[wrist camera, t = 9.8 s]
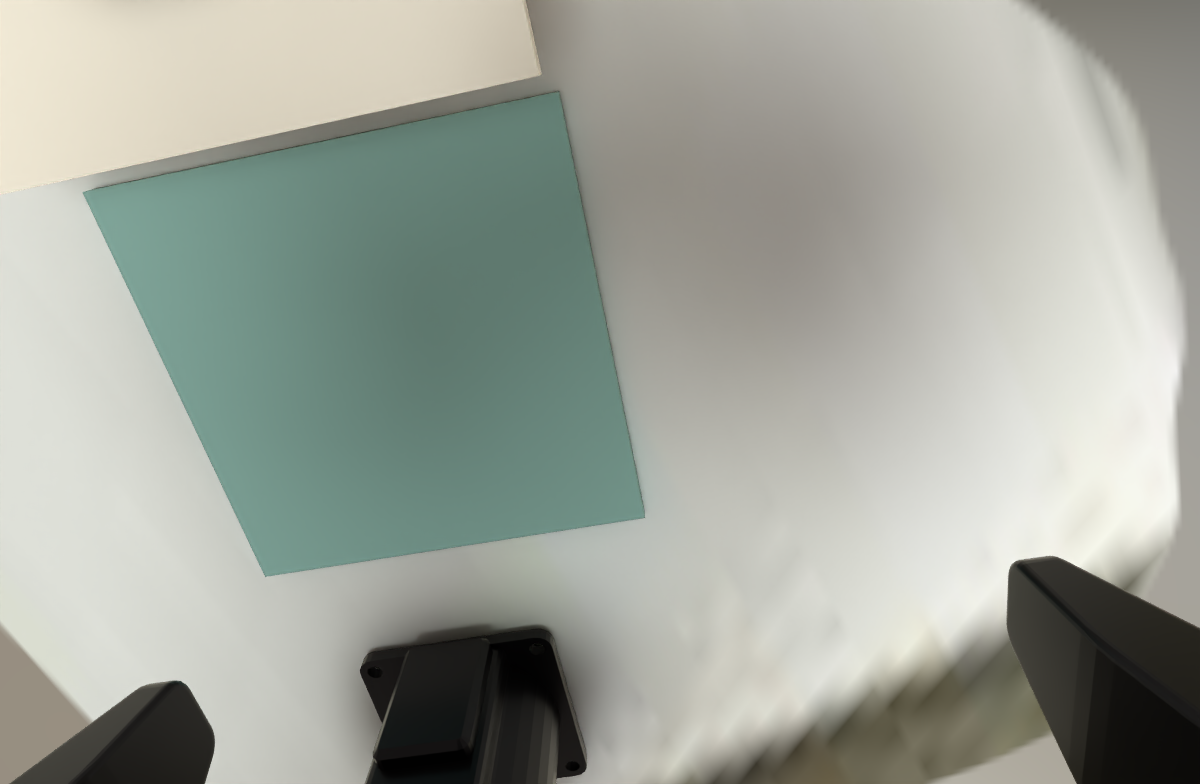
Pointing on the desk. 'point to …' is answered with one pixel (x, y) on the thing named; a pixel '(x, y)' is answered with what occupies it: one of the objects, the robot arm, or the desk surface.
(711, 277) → the desk surface
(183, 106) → the lid
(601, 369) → the mat
